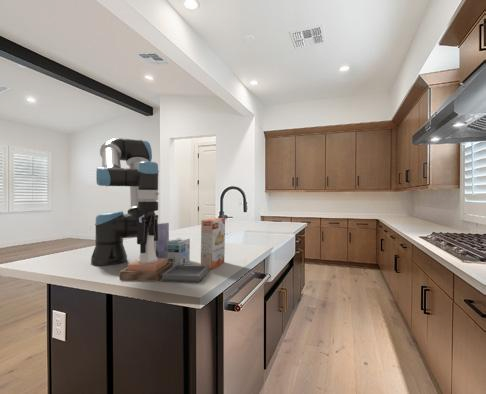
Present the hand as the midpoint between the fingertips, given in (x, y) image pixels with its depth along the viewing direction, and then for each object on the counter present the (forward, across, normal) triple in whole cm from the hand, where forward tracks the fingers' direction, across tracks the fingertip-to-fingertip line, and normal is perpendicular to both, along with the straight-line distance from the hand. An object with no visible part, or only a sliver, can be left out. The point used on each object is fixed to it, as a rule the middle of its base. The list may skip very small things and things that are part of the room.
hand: (148, 258), depth 106 cm
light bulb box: (+6, +19, -6) cm, 21 cm away
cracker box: (+6, +16, -23) cm, 29 cm away
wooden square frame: (+6, 0, 0) cm, 6 cm away
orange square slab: (+3, 0, 0) cm, 3 cm away
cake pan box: (+6, +21, +5) cm, 23 cm away
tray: (+6, -1, -16) cm, 17 cm away
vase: (+1, 0, 0) cm, 1 cm away
